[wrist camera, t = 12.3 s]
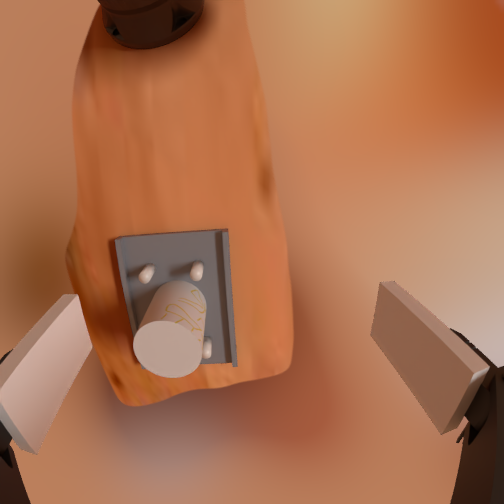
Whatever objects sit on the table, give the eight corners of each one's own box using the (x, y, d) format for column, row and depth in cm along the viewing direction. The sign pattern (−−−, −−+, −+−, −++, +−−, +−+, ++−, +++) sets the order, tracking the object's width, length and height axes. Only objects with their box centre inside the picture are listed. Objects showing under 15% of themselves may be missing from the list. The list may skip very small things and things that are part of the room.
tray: (119, 236, 41) (107, 245, 36) (228, 228, 42) (228, 236, 38) (144, 361, 47) (138, 379, 43) (236, 358, 49) (238, 377, 44)
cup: (216, 315, 45) (215, 363, 33) (172, 336, 45) (159, 385, 34) (188, 270, 43) (176, 309, 31) (143, 295, 43) (119, 337, 31)
